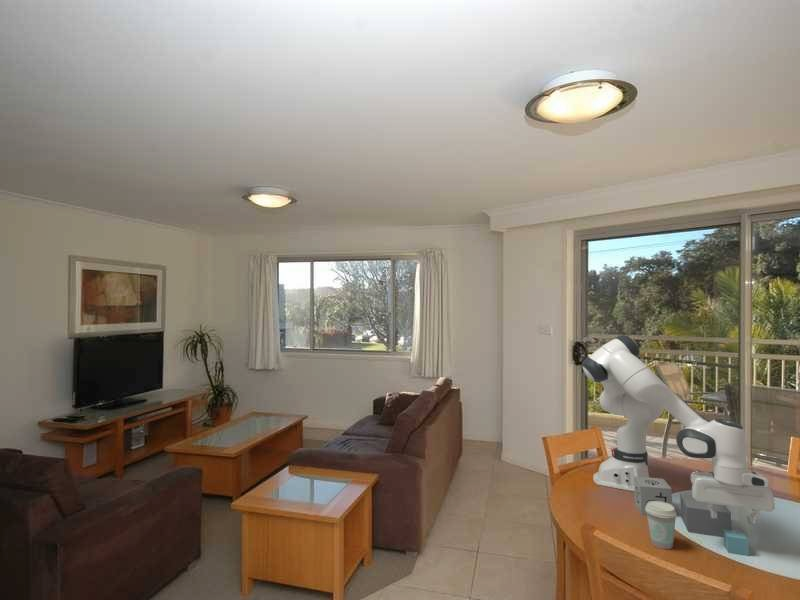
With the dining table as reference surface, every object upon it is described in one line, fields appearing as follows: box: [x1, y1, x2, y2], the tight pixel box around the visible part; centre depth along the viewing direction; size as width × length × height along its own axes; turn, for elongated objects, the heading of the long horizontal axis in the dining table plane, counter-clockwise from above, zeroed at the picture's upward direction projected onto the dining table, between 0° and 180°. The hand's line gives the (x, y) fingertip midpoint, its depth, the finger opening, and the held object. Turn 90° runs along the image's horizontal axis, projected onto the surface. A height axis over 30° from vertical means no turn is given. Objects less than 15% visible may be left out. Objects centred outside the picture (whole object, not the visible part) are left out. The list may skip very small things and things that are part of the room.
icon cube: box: [633, 477, 673, 516], centre depth 163 cm, size 10×10×10 cm
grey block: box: [679, 493, 733, 538], centre depth 150 cm, size 12×12×8 cm
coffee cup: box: [645, 501, 678, 550], centre depth 139 cm, size 8×8×12 cm
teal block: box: [722, 529, 750, 557], centre depth 135 cm, size 5×5×5 cm
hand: (732, 520), depth 135 cm, fingers open, 8 cm apart
